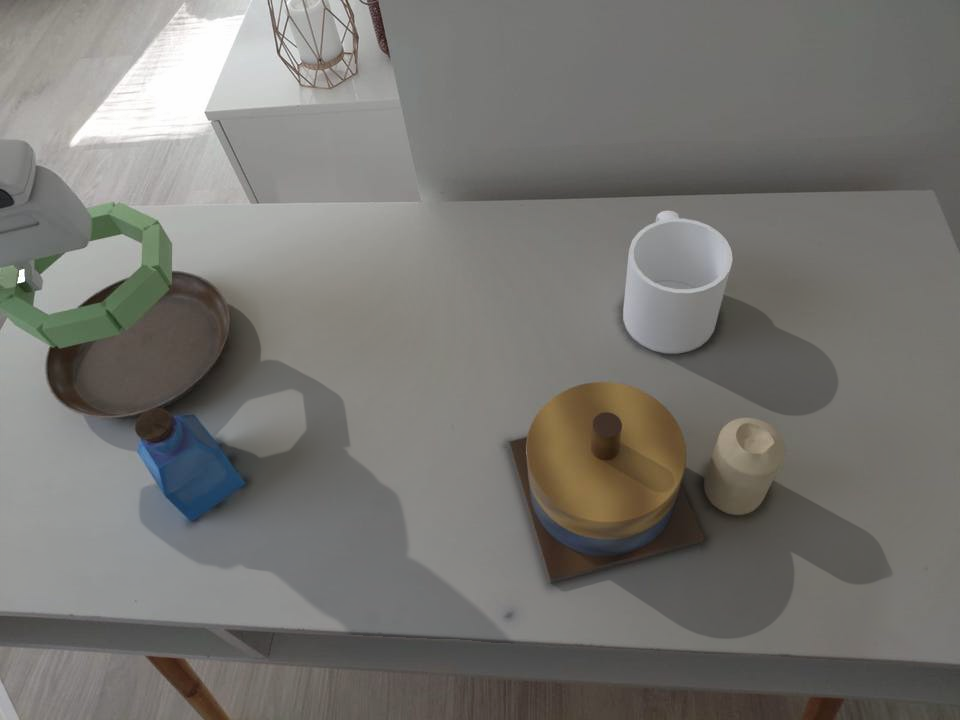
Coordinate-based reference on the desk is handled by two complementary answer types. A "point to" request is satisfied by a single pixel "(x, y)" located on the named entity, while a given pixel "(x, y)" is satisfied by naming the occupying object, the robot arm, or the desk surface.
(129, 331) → the plant saucer
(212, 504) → the perfume bottle
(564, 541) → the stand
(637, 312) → the mug
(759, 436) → the candle
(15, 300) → the ring
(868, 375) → the desk surface
